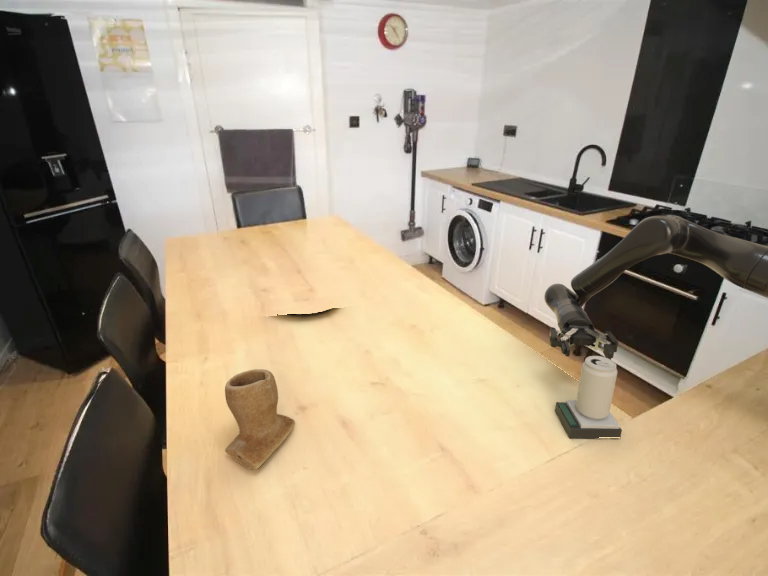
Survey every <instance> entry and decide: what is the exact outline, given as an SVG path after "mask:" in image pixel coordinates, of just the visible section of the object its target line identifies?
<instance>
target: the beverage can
mask: <svg viewBox="0 0 768 576" xmlns="http://www.w3.org/2000/svg"><path fill="white" fill-rule="evenodd" d="M618 372H619V371H618V369H617V363H616V362H615V361H614V360H612V359H611V360H610V359H608V358H606V357H605V356H601V355H589V356H587V357H586V358H585V359H584V361H583V363H582V365H581V369H580V377H579V382H578V387H577V393H576V399H575V400H576V408H577V410H578V411H579V412H580V413H581V414H582V415H584V416H586V417H588V418H591V419H602V418H606V417H607V416H608V415H609V412H610V413H611V406H612V402H613V397H614V392H615V386H616V381H617V378H618Z"/></svg>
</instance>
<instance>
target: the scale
mask: <svg viewBox="0 0 768 576" xmlns="http://www.w3.org/2000/svg"><path fill="white" fill-rule="evenodd" d="M554 412H555V415H556V416H557V418H558V419H559V421H560V423H561V426H562V427H563V429H564V431H565V432H566V435H567V436H568V438H569V439H570V440H571V439H572V440H596V439H595V438H599V437H620V438H621V436H622V432H623V429H622V428H621V425H620V424H619V422H618V421H617V420H616V418H615V417H614V415H613V414H612V412H611V411H610V412H609V415H608V416H607V417H606V418H602V419H591V418H588V417H586V416H584V415H582V414H581V413H580V412H579V411H578V410H577V408H576V399H569V400H568V399H566V400H565V402H564V401H559V402H555V408H554Z"/></svg>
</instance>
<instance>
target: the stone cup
mask: <svg viewBox="0 0 768 576" xmlns="http://www.w3.org/2000/svg"><path fill="white" fill-rule="evenodd" d="M278 391H279V390H278V385H277V381H276V379H275V376H274V374H273V372H272V371H270V370H268V369H264V368H255V369H250V370H249V369H248V370H246V371H242V372H240V373H237V374H235V375H234V376H232V377H230V379H229V380H227V382H226V384H225V386H224V395H225V396H224V397H225V403H226V405H227V407H228V409H229V411H230V412H231V414H232V416H233V417H234V420H235V422H236V424H237V426H238V429H239V434H238V435H236V437H235V438H234V439H233V440H232V441H231V442H230V444H228V446H227V447H226V448H225V450H224V451H225V453H226V454H227V455H229V456H230V457H231V459H232V460H234V461H235V462H236V463H238V464H239V465H240V466H243V467H245V468H246V469H250V470H257V469H259V468H260V467H261V466H262V465H263V464H264V463H265V462H266V461H267V460H268V459H269V458H270V457H271V456H272V455H273V454H274V453H275V451H276V450H277V449H278V448H279V447H280V446H281V444H282V443H284V441H285V440H286V438H287V437H288V436H289V435H290V434H291V432H292V431H293V430H294V427H295V425H296V421H295V420H294V419H293V418H291V417H289V416H288V415H287V416H286V415H283V414H279V413H278V403H279V392H278Z"/></svg>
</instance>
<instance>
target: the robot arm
mask: <svg viewBox="0 0 768 576" xmlns="http://www.w3.org/2000/svg"><path fill="white" fill-rule="evenodd" d="M666 254H671V255H674V256H675V255H676V256H678V257H681V258H685V259H689V260H691V261H695V262H696V263H697V262H698V263H699V264H702V265H704V266H706V267H707V268H709V269H710V270H712V271H713V272H715V273H716V274H718V276H720V277H722V278H723V279H725V280H726V281H728V282H730V283H731V284H733V285H735V286H737V287H739V288H741V289H742V290H743V289H744V290H746V291H748V292H751V293H753V294H756V295H758V296H761V297H763V298H766V299H768V246H767V245H764V244H759V243H756V242H754V241H749V240H746V239H742V238H737V237H734V236H730V235H725V234H722V233H719V232H716V231H713V230H710V229H708V228H706V227H703V226H701V225H698V224H697V223H694V222H692V221H690V220H688V219H685V218H683V217H681V216H678V215H676V214H675V215H674V214H668V213H667V214H658V215H652V216H648V217H646V218H643V219H642V220H641V221H640V222H638V223H637V224H635V226H634V227H633V228H632V229H631V230H630V231H629V232H628V233H627V234H626V235H625V236H624V237H623V238H622V240H620V241H619V242H618V243H617V244H616V245H615V246H614V247H613V248H611V250H609V251H608V252H606V253H605V254H604V255H603V256H601V257H600V258H599V259H597V260H596V261H594V262H593V263H592V264H590V265H589V266H588V267H586V268H584V269H583V270H582V271H580V272H579V273H577V274H576V275H575V276H574V277H572V279H571V281H570V287H571V289H572V290H571V289H570V288H568V287H567V286H566V285H564V284H562V283H553V284H551V285H549V286H548V287H547V289H546V290H545V292H544V297H543V299H544V302H545V304H546V306H547V307H548V308H549V309H550V310H551V311H552V312H553V314H554V315H555V318H556V322H557V326H558V328H559V330H557V329H556V328H555V326H554V327H550V328H549V333H548V335H549V336H548V338H549V342H550V343H549V344H550V347H551V348H556V347H558V348H559V349H560V351H561V353H562V355H564V356H565V357H570V355H571V348H572V346H585V347H588V348H591V349H593V350H595V351H601V352H602V354H603V355H604V357H605V358H608V359H610V360H612V359H614V355H615V353H618V352H617V351H618V345H619V340H618V339H617V338H616V337H615V336H614V334H613V333H612V332H611V331H609V330H606V331H605V333H599V332H598V331H596V329H595V326H594V324H593V322H592V321H591V320H592V319H590V317H589V315H588V313H587V312H586V311H585V310H584V308H583V307H584V305H586V303H587V302H588V301H589V300H590V299H591V298H592V297H593V296H595V295H596V294H597V293H599V292H601V291H603V290H604V289H605V288H607V287H608V286H610V285H611V284H612V283H614V282H615V281H616V280H617V279H618V278H619V277H620V276H621V275H622V274H623V273H624V272H625V271H627V270H628V269H630V268H631V267H633V266H634V265H636V264H638V263H641V262H643V261H645V260H647V259H649V258H651V257H655V256H661V255H666ZM559 337H560V338H559ZM602 344H603V345H602Z"/></svg>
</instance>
